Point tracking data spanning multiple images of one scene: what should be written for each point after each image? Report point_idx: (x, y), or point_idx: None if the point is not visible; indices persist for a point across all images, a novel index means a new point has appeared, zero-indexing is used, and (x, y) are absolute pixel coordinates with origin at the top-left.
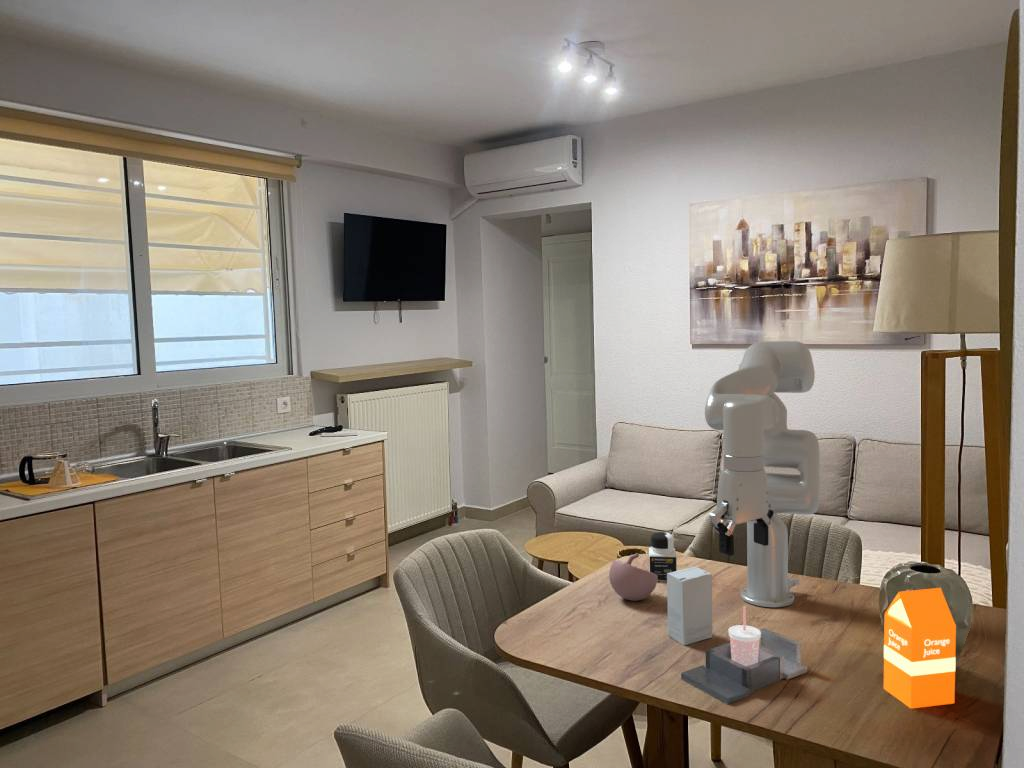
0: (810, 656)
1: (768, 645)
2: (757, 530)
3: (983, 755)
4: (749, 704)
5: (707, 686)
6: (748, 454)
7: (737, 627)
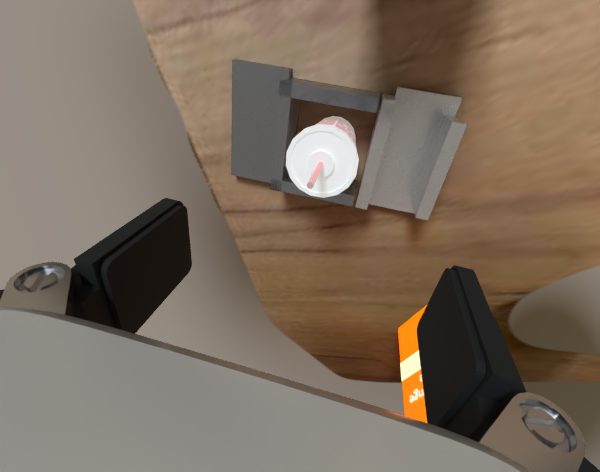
0: (494, 186)
1: (437, 139)
2: (450, 352)
3: (347, 378)
4: (260, 192)
5: (233, 130)
6: None
7: (331, 137)
